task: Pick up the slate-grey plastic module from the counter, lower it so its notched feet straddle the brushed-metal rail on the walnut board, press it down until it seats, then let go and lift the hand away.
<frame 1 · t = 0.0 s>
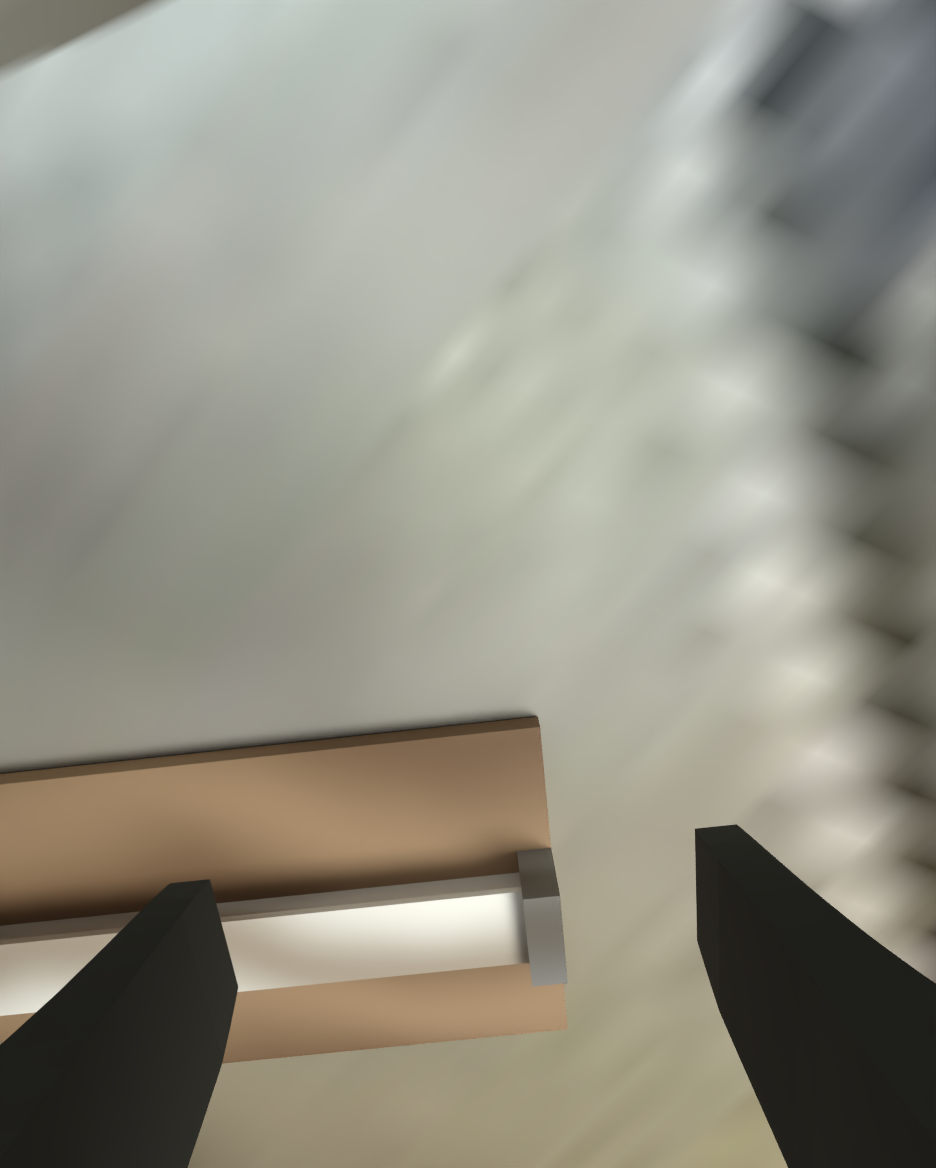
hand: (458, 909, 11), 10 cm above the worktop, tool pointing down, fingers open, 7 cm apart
rail mount: (262, 905, 23), on the worktop
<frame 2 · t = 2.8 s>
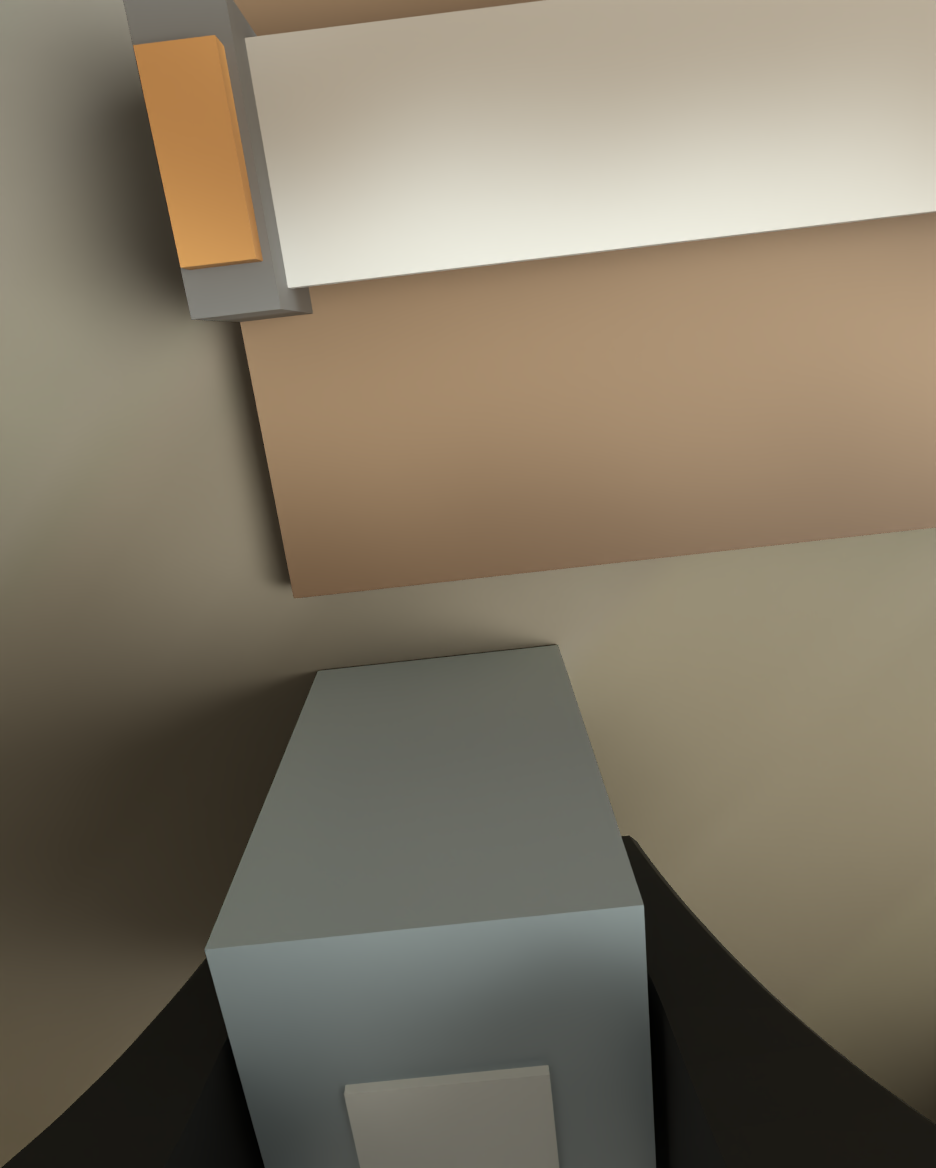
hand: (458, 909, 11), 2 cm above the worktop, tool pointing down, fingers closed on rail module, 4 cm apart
rail mount: (889, 127, 10), on the worktop
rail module: (458, 811, 13), on the worktop, touching gripper
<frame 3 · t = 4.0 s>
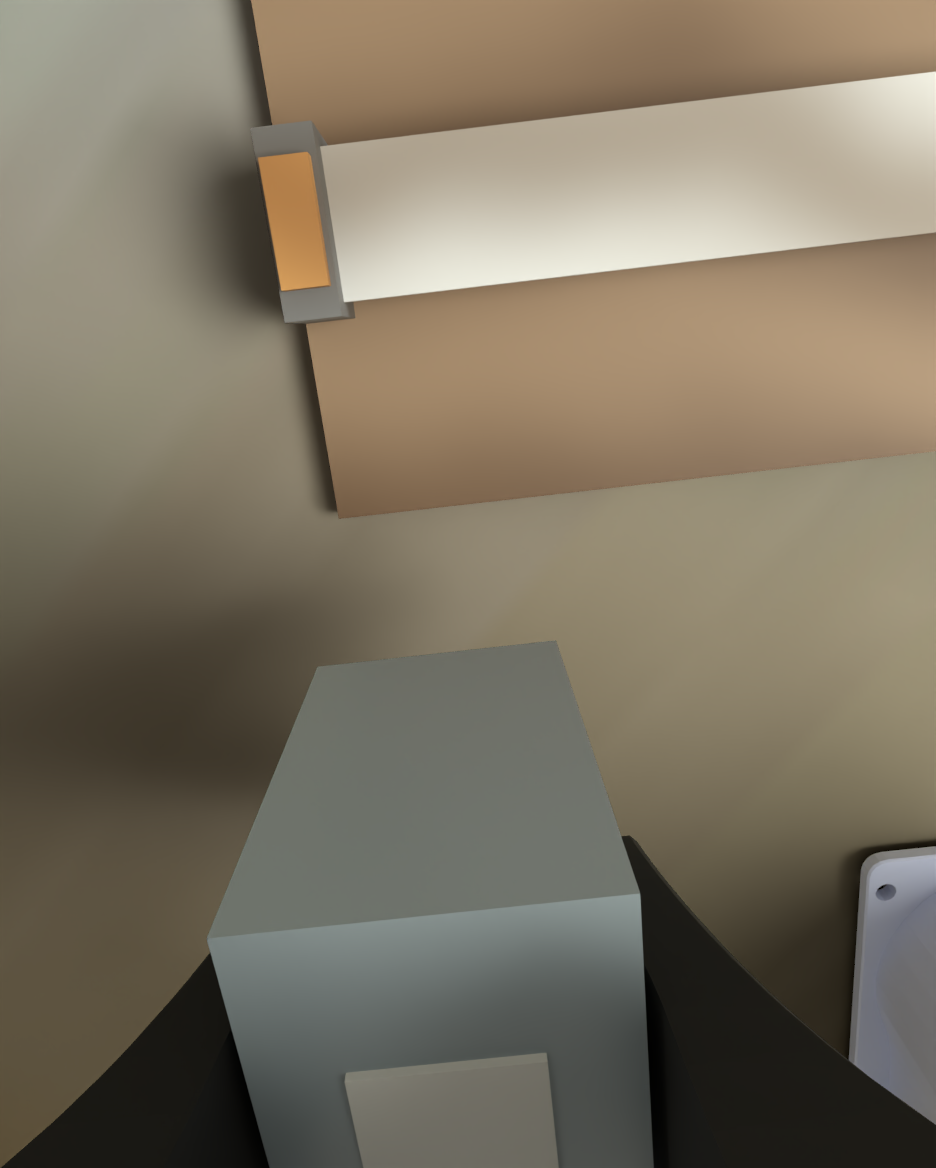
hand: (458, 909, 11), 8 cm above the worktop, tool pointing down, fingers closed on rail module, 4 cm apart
rail mount: (746, 192, 15), on the worktop
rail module: (457, 806, 14), point 5 cm above the worktop, touching gripper
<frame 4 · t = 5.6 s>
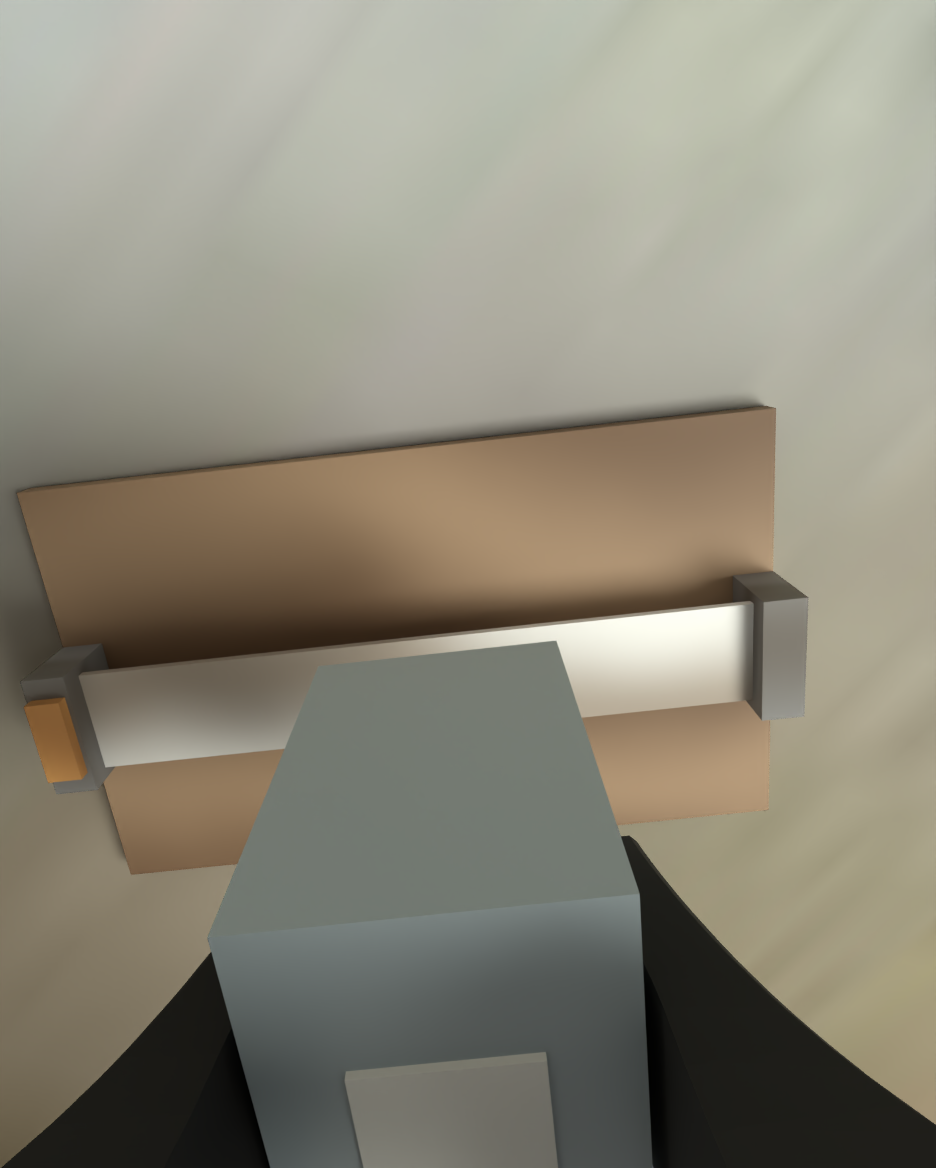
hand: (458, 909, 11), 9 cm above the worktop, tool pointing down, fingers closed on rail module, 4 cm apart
rail mount: (423, 654, 20), on the worktop
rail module: (457, 806, 14), point 7 cm above the worktop, touching gripper
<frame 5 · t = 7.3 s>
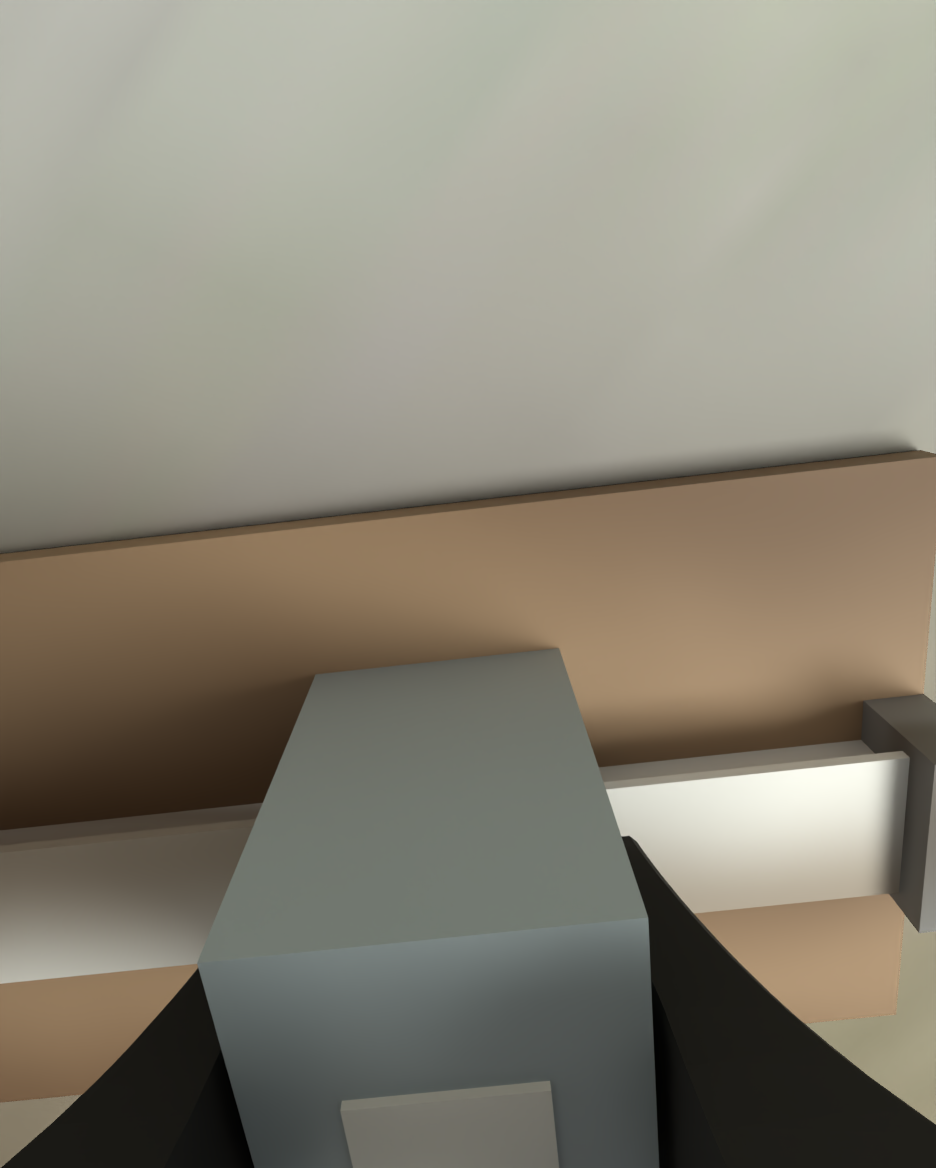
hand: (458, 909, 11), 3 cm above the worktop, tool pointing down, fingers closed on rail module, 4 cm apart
rail mount: (404, 805, 14), on the worktop
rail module: (457, 817, 13), point 1 cm above the worktop, touching gripper, rail mount
when the fingers open (3 cm above the worktop, at t = 8.5 s): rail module stays where it is, resting on rail mount.
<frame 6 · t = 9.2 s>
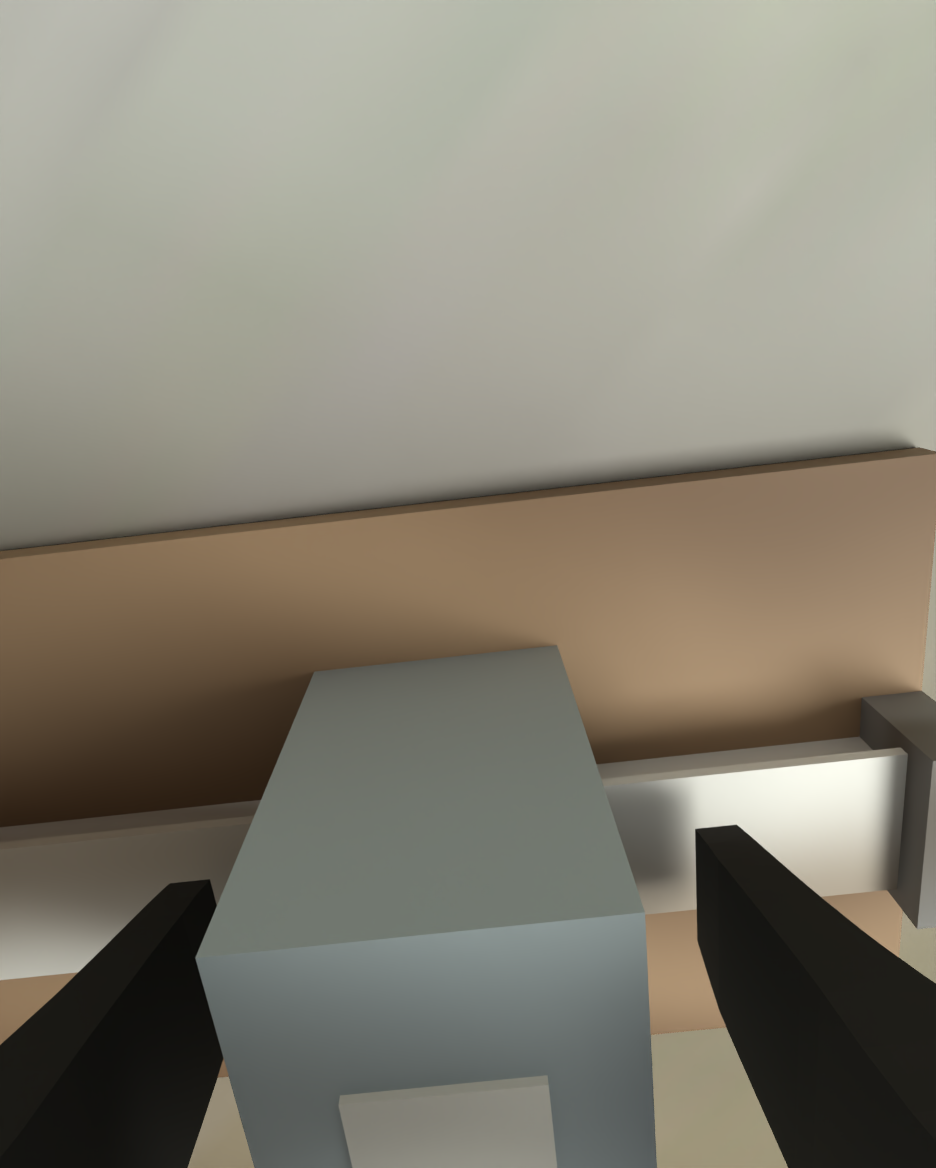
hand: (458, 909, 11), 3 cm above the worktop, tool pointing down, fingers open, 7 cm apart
rail mount: (403, 802, 14), on the worktop
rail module: (456, 814, 13), point 1 cm above the worktop, touching rail mount
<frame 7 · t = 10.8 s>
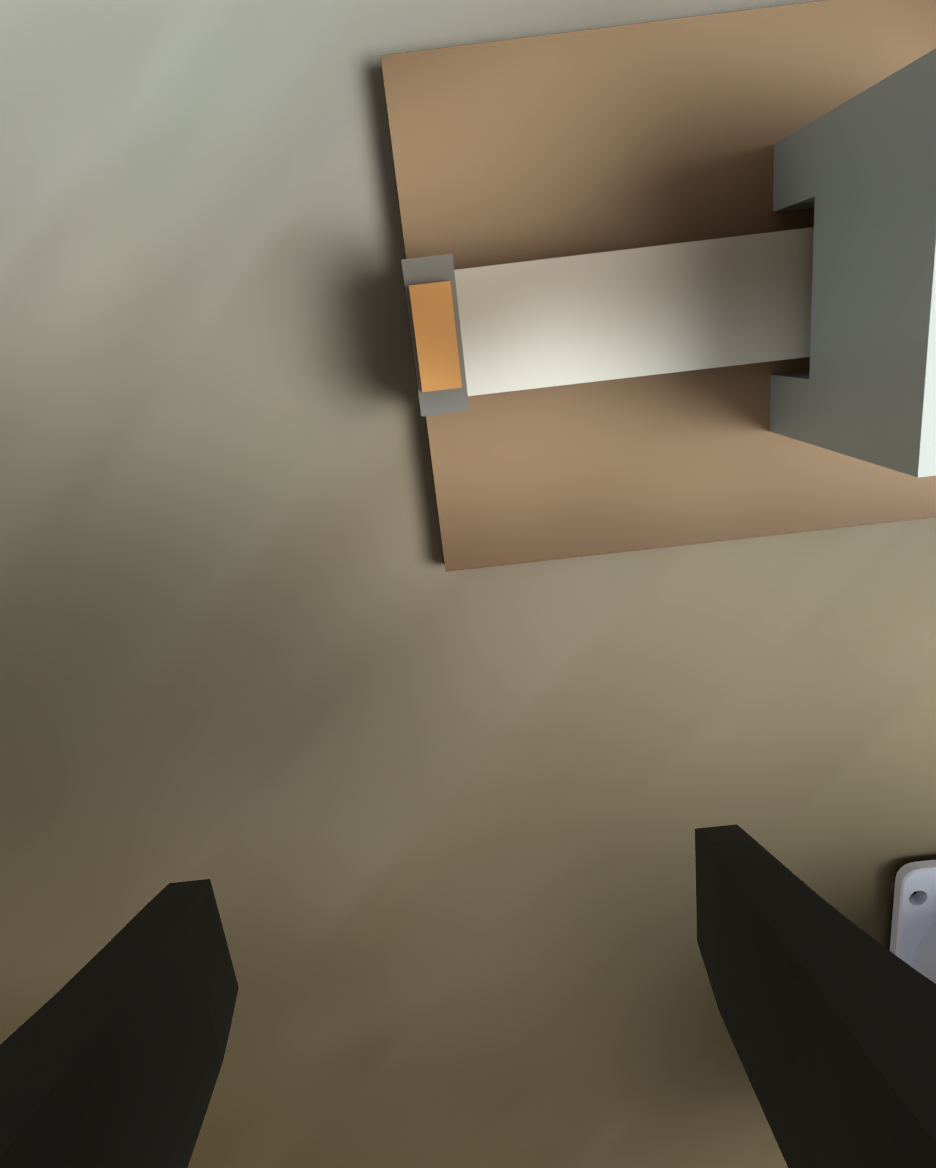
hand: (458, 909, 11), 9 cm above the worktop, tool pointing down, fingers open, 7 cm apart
rail mount: (805, 294, 17), on the worktop
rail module: (862, 285, 17), point 1 cm above the worktop, touching rail mount
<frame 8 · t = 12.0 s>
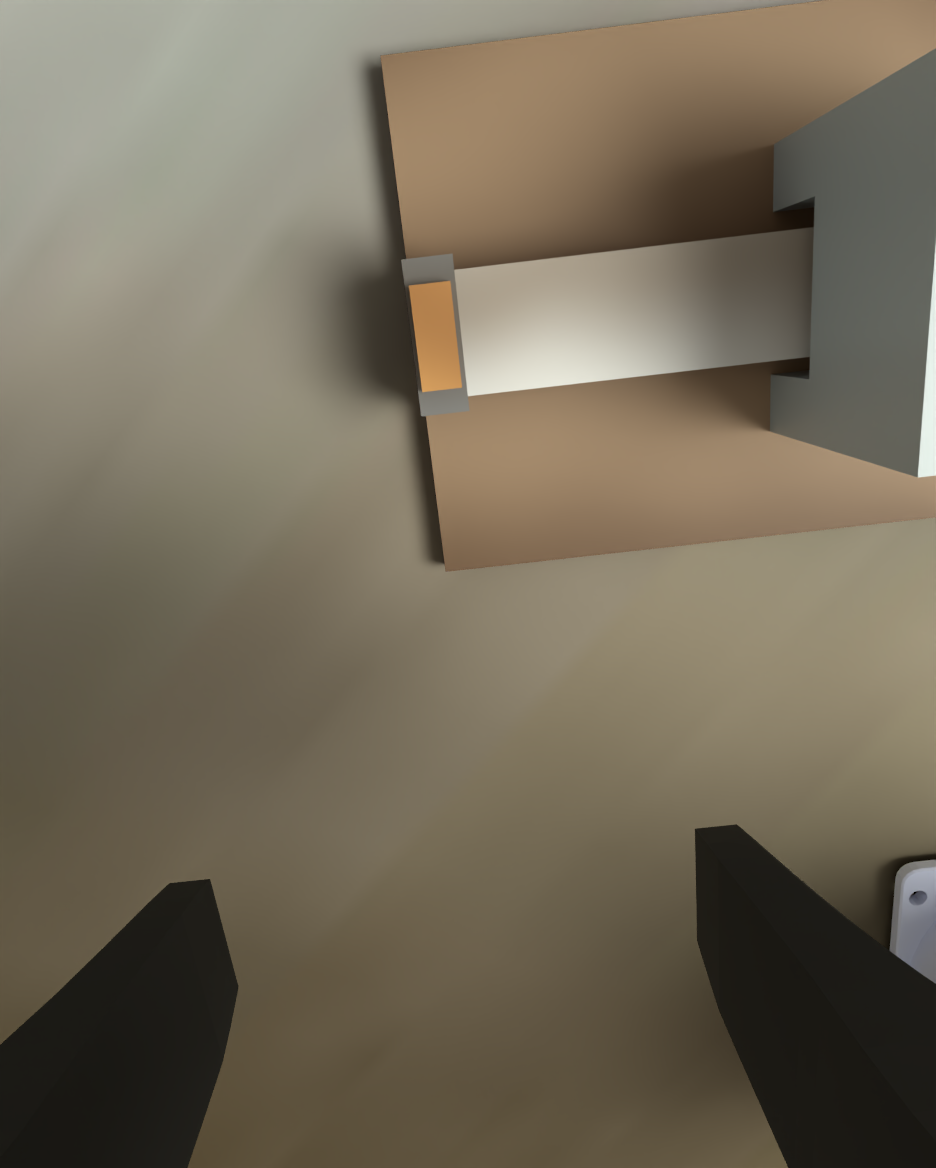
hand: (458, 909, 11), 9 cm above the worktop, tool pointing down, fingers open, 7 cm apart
rail mount: (805, 294, 17), on the worktop
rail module: (862, 285, 17), point 1 cm above the worktop, touching rail mount
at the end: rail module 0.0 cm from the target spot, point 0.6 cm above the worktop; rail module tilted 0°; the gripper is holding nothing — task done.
